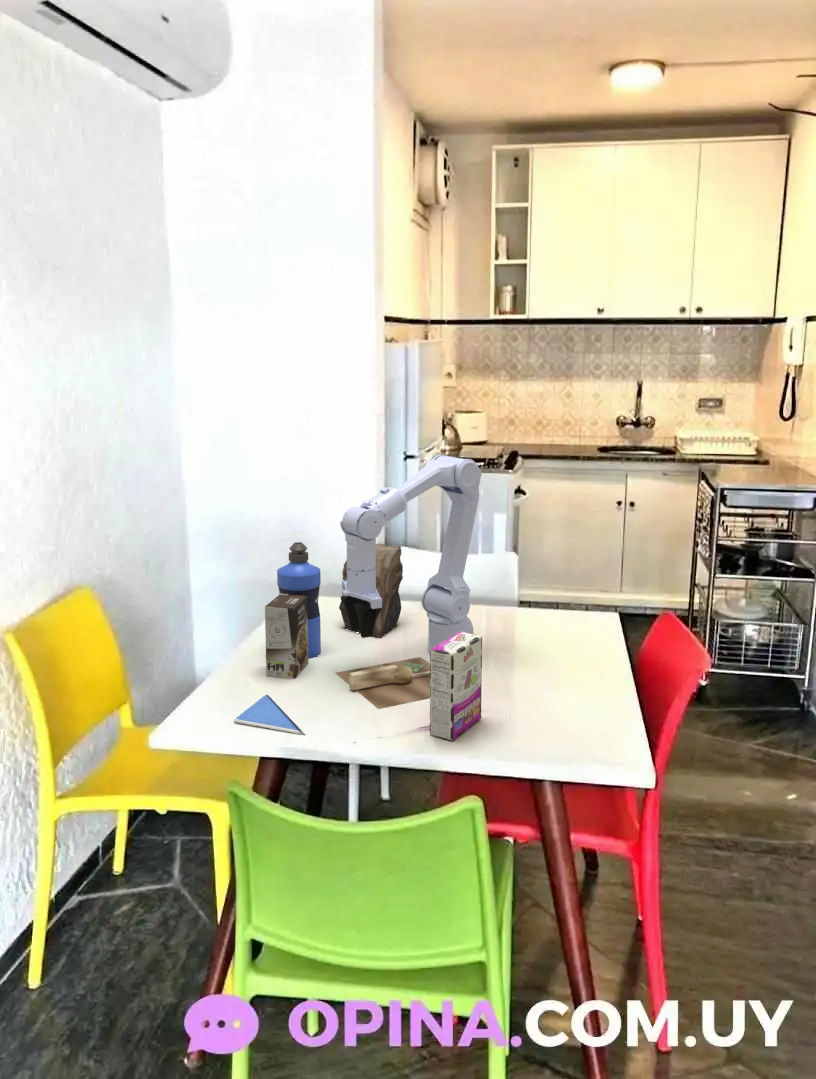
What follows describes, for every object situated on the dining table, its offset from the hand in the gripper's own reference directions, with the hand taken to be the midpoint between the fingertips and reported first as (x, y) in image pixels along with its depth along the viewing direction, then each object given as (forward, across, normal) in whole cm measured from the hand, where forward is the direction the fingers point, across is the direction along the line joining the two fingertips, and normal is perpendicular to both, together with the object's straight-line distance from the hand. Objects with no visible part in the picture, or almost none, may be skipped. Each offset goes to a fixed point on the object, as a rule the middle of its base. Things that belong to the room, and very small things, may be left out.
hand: (361, 633), depth 176 cm
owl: (+11, -28, +16) cm, 34 cm away
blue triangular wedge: (+11, +10, -18) cm, 23 cm away
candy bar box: (+11, +27, +6) cm, 29 cm away
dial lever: (+9, +6, +5) cm, 12 cm away
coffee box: (+11, -10, -12) cm, 19 cm away
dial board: (+10, +6, +6) cm, 13 cm away
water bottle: (+11, -21, -5) cm, 24 cm away
